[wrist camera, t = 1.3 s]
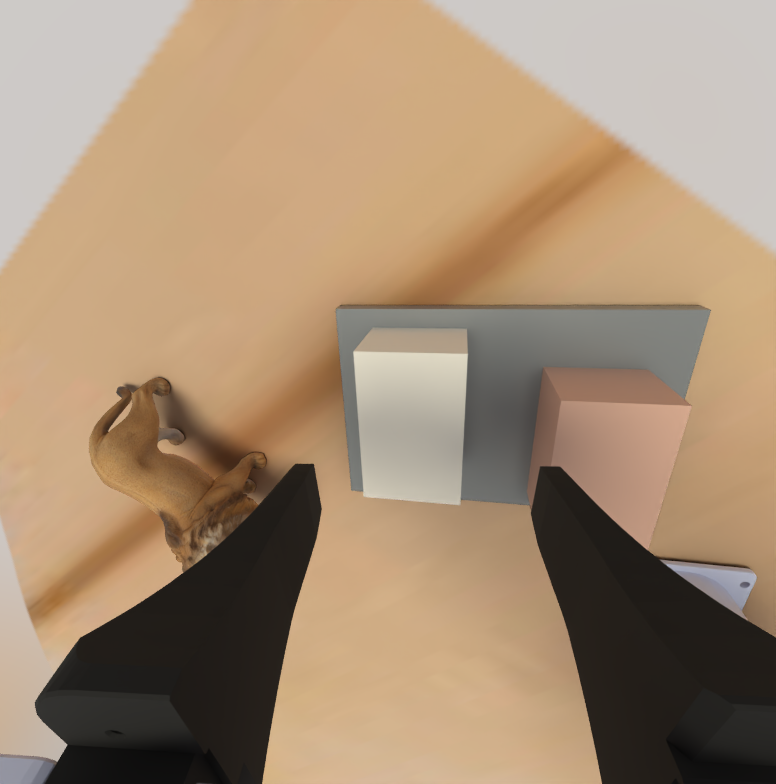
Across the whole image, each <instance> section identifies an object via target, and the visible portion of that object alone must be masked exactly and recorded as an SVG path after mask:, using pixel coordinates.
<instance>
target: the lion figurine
mask: <svg viewBox="0 0 776 784" xmlns="http://www.w3.org/2000/svg"><path fill="white" fill-rule="evenodd" d="M169 390H170V385H169V383H168V382H167V381H166V380H164V379H162V378H155V379H152V380H150V381H148V382H146V383H145V384H144V385H143V386H141V387H140V388H139V389H137V390H136V391H135V392H134V393H133V394H132V393H131V392H130V391H129V389H128V388H127V387H126V388H125V387H118V388H117V392H116V393H117V394H118V395H119V396H120V397H121V398H122V399H121V400H120V401H119V402H117V403H116V404H115V405H114V406H113V407H112V408H111V409H109V410H108V411H107V412H106V413H105V414H104V415H103V417H102V418H101V419H100V420H99V421H98V423H97V424H96V425H95V427H94V429H93V431H92V434H91V436H90V440H89V453H90V457H91V462H92V465H93V467H94V469H95V471H96V472H97V474H98V476H99V477H100V479H101V480H102V481H103V483H104V484H106V485H107V486H109V487H111V488H113V489H115V490H117V491H119V492H122V493H124V494H126V495H128V496H130V497H132V498H134V499H135V500H137V501H139V502H140V503H142V504H143V505H145V506H146V507H148V508H149V509H151V510H152V511H153V512H154V513H156V514H157V515H158V516H159V517H161V519H162V521H163V522H164V526H165V537H166V541H167V544H168V545H169V547H170V548H171V550H172V552H173V553H174V554H175V555H176V560H177V561H178V562H182V565H183V567H182V570H183V572H185V571H186V570H188V569H189V568H190V567H192V566H193V565H194V564H196V563H197V562H198V561H200V560H201V559H202V558H203V557H205V556H206V555H207V554H208V553H209V552H211V551H212V550H213V549H214V548H215V547H216V546H218V545H219V544H220V543H221V542H222V541H223V540H224V539H225V538H226V537H227V536H229V535H230V534H231V533H232V532H233V531H234V530H235V529H236V528H237V527H238V526H239V525H240V524H241V523H242V522H243V521H244V520H245V519H246V518H247V517H248V516H249V515H250V514H251V513H252V512H253V511H254V510H255V509H256V508H257V506H258V504H257V503H256V502H255V501H254V500H253V499H251V498H248V497H247V494H243V493H252V492H254V490H255V488H256V484H255V483H254V482H253V481H252V480H250V479H247V478H248V476H249V473H250V471H251V469H252V468H255V469H261V468H262V467H264V466H265V465H266V459H265V457H264V454H263V453H258V452H255V453H250V454H248V455H247V456H246V457H244V458H242V459H241V461H240V462H239V464H238V465H237V466H236V467H235V468H234V469H233V470H231V471H229V472H228V473H226V474H223V475H221V476H219V477H217V478H216V479H215V480H214V479H213V478H212V477H211V476H210V475H209V474H208V473H206V472H205V471H204V470H203V469H202V468H200V467H199V466H198V465H196V464H194V463H193V462H191V461H189V460H187V459H185V458H183V457H180V456H178V455H174V454H166V453H162V452H161V451H160V450H159V449H158V447H157V443H158V442H159V441H160V440H162V439H168V440H169V442H170V443H171V444H174V445H179V444H181V443H182V442H183V441H184V439H185V438H184V435H183V434H182V433H181V432H180V431H179V430H177V429H174V428H159V416H158V413H157V410H156V407H155V403H154V401H153V397H152V393H155V394H156V395H158V396H164V395H168V394H169V392H170V391H169ZM131 399H132V403H133V404H132V408H131V410H130V412H129V414H128V416H127V417H126V418H125V419H124V420H123V421H122V422H121V423H119V424H118V425H117V426H116V427H114V428H113V429H112V430H111V431H110V432H108V430H109V428H110V427H111V425H112V424H113V423H114V421H115V420H116V419H117V417H118V416H119V415H120V414H121V413H122V411H123V410H124V409H125V408H126V406H127V405H128V404H129V403H130V401H131Z"/></svg>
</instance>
